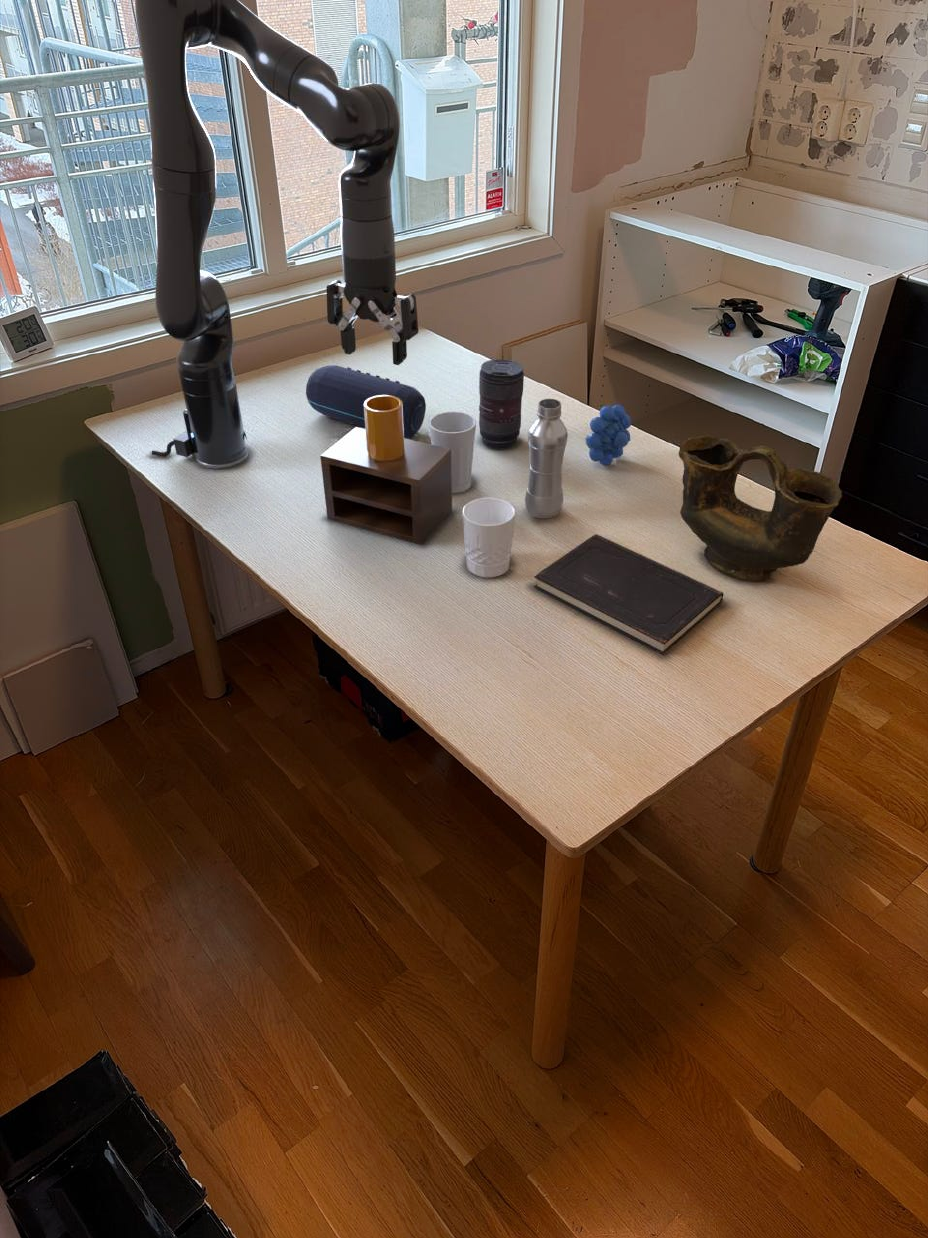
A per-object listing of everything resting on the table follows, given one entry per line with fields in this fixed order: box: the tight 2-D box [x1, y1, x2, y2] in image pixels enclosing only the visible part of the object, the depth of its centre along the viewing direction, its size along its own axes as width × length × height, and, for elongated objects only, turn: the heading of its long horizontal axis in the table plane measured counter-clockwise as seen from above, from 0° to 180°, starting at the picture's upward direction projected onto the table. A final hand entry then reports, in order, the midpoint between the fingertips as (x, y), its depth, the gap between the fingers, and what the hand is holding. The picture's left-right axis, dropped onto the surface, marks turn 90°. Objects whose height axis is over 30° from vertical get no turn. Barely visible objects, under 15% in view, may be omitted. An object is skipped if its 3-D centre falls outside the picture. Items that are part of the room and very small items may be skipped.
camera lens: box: [478, 358, 525, 450], centre depth 171 cm, size 8×8×15 cm
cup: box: [428, 411, 477, 494], centre depth 160 cm, size 8×8×12 cm
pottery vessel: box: [678, 434, 843, 582], centre depth 139 cm, size 25×11×20 cm, turn 49°
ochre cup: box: [364, 395, 404, 461], centre depth 146 cm, size 6×6×8 cm
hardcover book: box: [533, 533, 725, 656], centre depth 138 cm, size 16×23×2 cm
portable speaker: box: [305, 364, 427, 439], centre depth 178 cm, size 25×10×10 cm, turn 58°
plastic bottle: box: [524, 398, 569, 519], centre depth 150 cm, size 6×7×20 cm
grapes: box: [585, 403, 632, 466], centre depth 165 cm, size 12×7×12 cm, turn 133°
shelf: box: [319, 426, 453, 546], centre depth 152 cm, size 18×11×12 cm, turn 64°
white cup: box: [462, 497, 516, 578], centre depth 141 cm, size 8×8×10 cm
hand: (374, 357), depth 140 cm, fingers open, 8 cm apart
